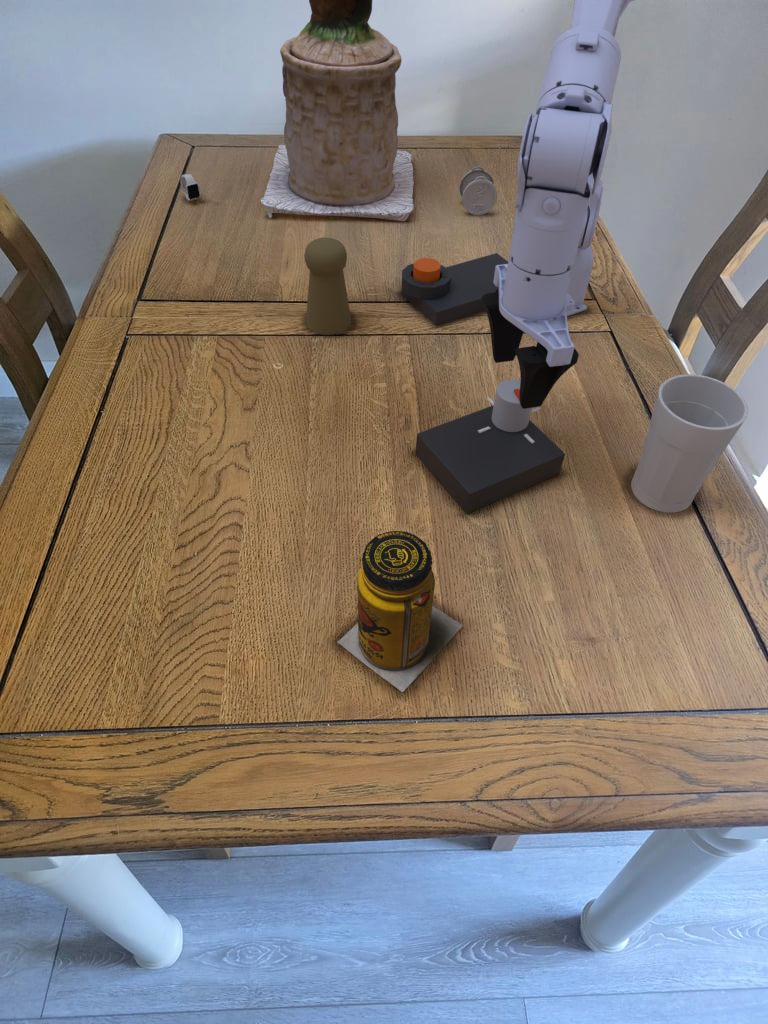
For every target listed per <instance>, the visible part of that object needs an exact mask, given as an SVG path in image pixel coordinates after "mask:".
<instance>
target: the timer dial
mask: <svg viewBox="0 0 768 1024" xmlns="http://www.w3.org/2000/svg"><path fill="white" fill-rule="evenodd" d="M520 383H521V379H516V378H510V379H509V378H508V379H505V380H502V381H500V383H498V384H497V386H496V390H495V396H494V400H493V401H494V406H493V405H492V406H493V412H492V422H493V424H494V425H495V426H496V427H497V428H499V429H501V430H503V431H506V432H519V431H522V430H524V429H525V428H526V427H527V426H528V423H529V420H531V414H532V413H531V410H532V409H533V408H527V409H523V408H522V407H521V405H520V399H519V395H520Z"/></svg>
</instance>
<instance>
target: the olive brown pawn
mask: <svg viewBox="0 0 768 1024" xmlns="http://www.w3.org/2000/svg"><path fill="white" fill-rule="evenodd" d="M303 257H304V262H305V265H306V267H307V269H308V270H309V275H308V278H309V279H308V290H307V300H306V301H307V303H306V313H305V314H306V315H305V325H306V328H307V329H308V330H310V331H311V332H312V333H313V332H314V333H316V334H319V335H323V336H325V335H327V336H332V335H338V334H340V333H343V332H345V331H347V330H348V329H349V328H350V327H351V325H352V316H351V311H350V304H349V299H348V297H349V296H348V292H347V291H348V290H347V286H346V279H345V273H344V268H345V267H346V265H347V260H348V253H347V249H346V247H345V245H344V244H343V242H341V241H340V240H338V239H336V238H332V237H319V238H318V237H317V238H316V239H313V240H311V241H309V243H308V244H307V245H306V247H305V250H304V255H303Z"/></svg>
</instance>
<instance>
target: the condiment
mask: <svg viewBox="0 0 768 1024" xmlns="http://www.w3.org/2000/svg"><path fill="white" fill-rule="evenodd" d="M361 562H362V563H361V566H360V568H359V572H358V575H357V584H356V585H357V586H356V591H357V623H355V625H353V627H352V628H351V629H349V631H348V632H346V633H345V634H344V635H343V636H342V637H341V638H340V639H339V640H337V644H338V645H340V646H341V647H342V648H344V649H345V650H346V651H347V652H349V653H350V654H351V655H352V656H354V658H356V659H357V660H358V661H360V662H361V663H363V664H364V665H365V666H366V667H367V668H369V669H371V670H372V671H373V672H374V673H376V674H377V675H378V676H379V677H380V678H382V679H384V680H385V681H386V682H388V683H389V684H391V686H393V687H395V688H396V689H397V690H399V691H400V692H401V693H404V691H406V690H407V688H409V686H410V685H411V684H412V683H413V682H414V681H415V680H416V679H417V678H418V677H419V675H420V674H421V673H422V672H423V671H424V670H425V669H426V668H427V667H428V666H429V664H430V663H431V662H432V661H433V660H434V659H435V658H436V657H437V655H438V654H439V653H440V652H441V651H442V650H443V648H444V647H446V645H447V644H448V643H449V642H450V641H451V640H452V639H453V637H454V636H455V635H456V634H457V633H458V632H459V631H460V630H461V629H462V627H463V626H464V625H463V624H462V623H461V622H459V621H457V620H455V619H454V618H452V617H450V616H449V615H448V614H446V613H444V612H443V611H441V610H440V609H438V608H436V607H435V606H434V605H433V603H434V595H435V587H436V579H435V574H434V571H433V567H432V565H433V556H432V552H431V550H430V549H429V547H428V545H427V543H426V542H425V541H423V540H422V539H421V538H420V537H418V536H417V535H415V534H414V533H411V532H408V531H403V530H390V531H386V532H383V533H379V534H377V535H375V536H374V537H373V538H372V539H370V541H368V542H367V544H366V545H365V548H364V551H363V552H362V558H361Z"/></svg>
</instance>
